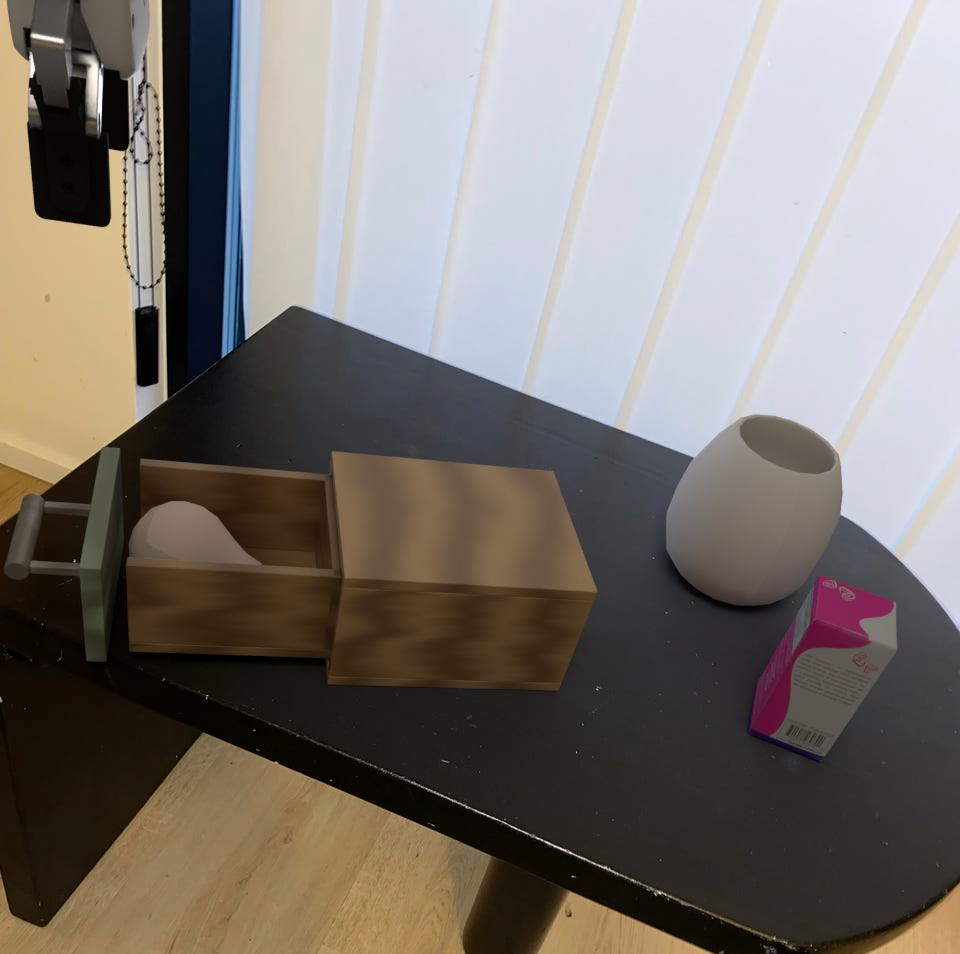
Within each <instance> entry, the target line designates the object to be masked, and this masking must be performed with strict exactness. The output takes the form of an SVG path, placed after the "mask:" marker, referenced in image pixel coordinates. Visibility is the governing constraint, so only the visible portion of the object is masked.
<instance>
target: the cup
mask: <svg viewBox="0 0 960 954" xmlns="http://www.w3.org/2000/svg"><path fill="white" fill-rule="evenodd" d="M842 474H843V473H842V463H841V459H840V455H839V453H838V452H837V450H836V449H835V447H833V446H832V444H831V443H830V442H829V441H828V440H827V439H825V438H824V437H822V436H821V435H820V434H819V433H817V432H816V431H815V430H813V429H811V428H809V427H808V426H805V425H803V424H801V423H799V422H797V421H794V420H791V419H788V418H784V417H780V416H777V415H771V414H758V413H754V414H749V415H745V416H741V417H740V418H738V419H737V420H736V421H734V422H732V423H731V424H730V425H729V426H727V427H726V428H724V429H723V430H721V431H719V433H718V434H716V436H715V437H713V439H712V440H711V441H710V442H709V443H708V444H706V446H704V447H703V448H702V450H700V452H698V454H696V456H695V457H694V458H693V459H691V461H690V463H689V464H688V466H687V468H686V470H685V472H684V473H683V475H682V477H681V479H680V480H679V482H678V484H677V485H676V488H675V489H674V493H673V495H672V498H671V501H670V503H669V505H668V508H667V510H666V519H665V520H666V521H665V549H666V551H667V554H668V555H669V557H670V559H671V560H672V562H673V564H674V566H675V568H676V569H677V571H678V572H679V574H680V575H681V576H682V577H683V578H684V579H685V580H686V581H687V582H688V583H689V584H690V585H691V586H692V587H693V588H695V590H696V591H697V590H698V591H699V592H701V593H702V594H705V595H706V596H708V597H710V598H712V599H713V600H716V601H720V602H723V603H726V604H731V605H733V606H764V605H771V604H772V603H776V602H779V601H780V600H783V599H786V598H787V597H789V596H791V595H792V594H793V593H794V592H796V591H797V590H798V589H800V588H801V587H803V586H804V585H805V584H806V582H807V580H809V577H810V576H811V574H812V572H813V571H814V569H815V567H816V566H817V564H818V563H819V561H820V560H821V558H822V556H823V554H824V553H825V552H826V550H827V548H828V547H829V545H830V542H831V541H832V538H833V535H834V533H835V531H836V528H837V526H838V524H839V522H840V519H841V513H842V512H841V511H842V504H843V495H844V494H843V492H844V490H843V476H842Z"/></svg>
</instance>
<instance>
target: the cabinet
mask: <svg viewBox="0 0 960 954" xmlns="http://www.w3.org/2000/svg"><path fill="white" fill-rule="evenodd" d="M329 463H330V464H329V470H328V475H332V479H333V489H334V499H335V510H336V520H337V530H338V540H339V551H340V561H341V571H342V584H341V590H340V597H339V603H338V609H337V615H336V622H335V628H334V634H333V641H332V647H331V653H330V658H324V659H325V672H326V684H327V685H332V686H333V685H334V686H364V687H365V686H368V687H369V686H370V687H399V688H401V687H402V688H406V687H407V688H436V689H437V688H439V689H440V688H441V689H474V690H475V689H476V690H477V689H479V690H509V691H510V690H513V691H514V690H515V691H549V692H551V691H553V692H558V691H560V689H561V686H562V683H563V681H564V678H565V676H566V673H567V671H568V668H569V666H570V663H571V662H572V658H573V655H574V653H575V650H576V648H577V646H578V643H579V640H580V638H581V636H582V634H583V633H582V632H583V630H584V627H585V625H586V622H587V621H588V618H589V615H590V613H591V610H592V607H593V605H594V602H595V600H596V598H597V595H598V589H597V586H596V584H595V581H594V578H593V575H592V573H591V569H590V567H589V564H588V562H587V559H586V556H585V553H584V550H583V547H582V545H581V542H580V540H579V537H578V534H577V532H576V529H575V526H574V523H573V521H572V517H571V515H570V513H569V510H568V507H567V504H566V502H565V499H564V496H563V493H562V490H561V488H560V485H559V483H558V480H557V476H556V474H555V471H553V470H543V469H534V468H533V469H531V468H523V467H522V468H521V467H511V466H502V465H501V466H500V465H488V464H480V463H479V464H477V463H465V462H457V461H456V462H455V461H446V460H433V459H424V458H423V459H422V458H411V457H401V456H400V457H399V456H389V455H388V456H387V455H377V454H366V453H357V452H346V451H345V452H344V451H335V450H333V451H331V454H330V462H329Z"/></svg>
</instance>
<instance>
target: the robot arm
mask: <svg viewBox="0 0 960 954" xmlns="http://www.w3.org/2000/svg"><path fill="white" fill-rule="evenodd" d="M6 8H7V16H8V21H9V22H8V23H9V28H10V35H11V41H12V44H13V47H14V49H15V50H16V51H17V53H18V54H19V55H20V56H21V57H22V58H23V59H25V61H27V62H28V84H27V119H28V120H27V122H26V129H27V140H28V151H29V162H30V174H31V185H32V186H31V187H32V197H33V209H34V213H35V214H36V215H37V216H38V217H39V218H41V219H43V220H47V221H53V222H54V221H55V222H61V223H62V222H63V223H70V224H76V225H83V226H89V227H90V226H91V227H97V228H106V227H108V226H109V225H110V223H111V220H112V196H111V193H112V192H111V170H110V150H112V151H118V152H126V151H127V150H128V149H129V147H130V142H131V138H130V137H131V136H130V135H131V133H130V93H129V90H130V89H129V87H130V86H129V80H130V79H132V78H134V77H135V76H136V75H137V74H138V72H139V71H140V68H141V65H142V62H143V59H144V56H145V51H146V48H147V43H148V39H149V34H150V27H151V15H150V14H151V13H150V0H6Z"/></svg>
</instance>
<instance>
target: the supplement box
mask: <svg viewBox="0 0 960 954" xmlns="http://www.w3.org/2000/svg"><path fill="white" fill-rule="evenodd" d="M897 634H898V633H897V602H896V601H893V600H892V599H891V600H890V599H888V598H885V597H882V596H880V595H877V594H875V593H871V592H869V591H866V590H863V589H860V588H857V587H855V586H852V585H849V584H847V583H844V582H841V581H838V580H835V579H833V578H830V577H827V576H825V575H822V574H820V575H818V577H816V579H815V581H814V583H813V585H812V587H811V588H810V590H809V592H808V593H807V594H806V597H805V598H804V601H803V602H802V604H801V606H800V607H799V608H798V611H797V613H796V614H795V616H794V618H793V619H792V621H791V623H790V625H789V626H788V628H787V630H786V632H785V634H784V636H783V637H782V639H781V641H780V643H779V644H778V646H777V648H776V649H775V650H774V653H773V654H772V657H771V658H770V660H769V662H768V663H767V665H766V667H765V669H764V671H763V672H762V674H761V676H760V677H759V679H758V681H757V683H756V684H755V688H754V689H755V690H754V695H753V700H752V706H751V712H750V717H749V724H748V731H747V732H748V733H747V734H748V735H751V736H753V737H756V738H758V739H761V740H763V741H766V742H768V743H771V744H774V745H776V746H779V747H781V748H784V749H786V750H789V751H792V752H793V753H797V754H799V755H802V756H804V757H807V758H809V759H812V760H814V761H817V762H820V763H822V761H823V760H824V758H825V757H826V756H827V755H828V753H829V752H830V750H831V749H832V747H833V745H834V744H835V743H836V741H837V739H838V738H839V737H840V736H841V734H842V732H843V731H844V730H845V728H846V727H847V725H848V724H849V722H850V721H851V719H852V718H853V716H854V715H855V714H856V712H857V710H858V709H859V707H860V706H861V704H862V703H863V701H864V700H865V698H867V696H868V694H869V693H870V691H871V690H872V689H873V686H874V685H875V684H876V682H877V681H878V680H879V678H880V677H881V675H882V674H883V672H884V670H885V669H886V667H887V666H889V665H888V664H890V662H891V661H892V659H893V657H894V656H895V654H896V653H897V651H898V637H897Z"/></svg>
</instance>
